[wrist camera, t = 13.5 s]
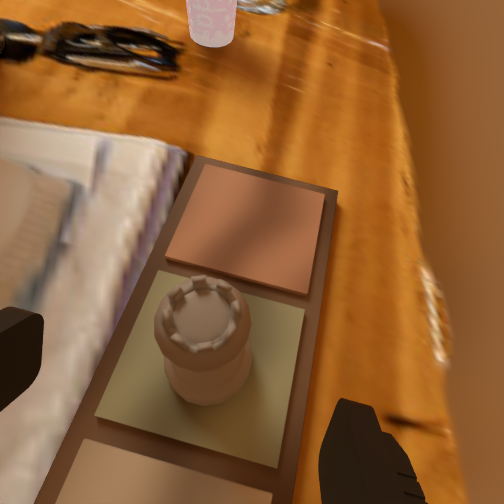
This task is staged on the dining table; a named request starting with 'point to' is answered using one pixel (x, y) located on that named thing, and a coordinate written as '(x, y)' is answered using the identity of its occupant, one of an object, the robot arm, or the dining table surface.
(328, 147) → the dining table surface
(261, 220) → the tile board
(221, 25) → the beverage cup
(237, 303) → the rook chess piece
